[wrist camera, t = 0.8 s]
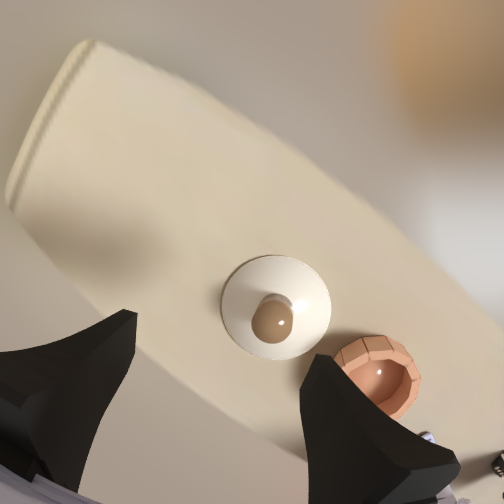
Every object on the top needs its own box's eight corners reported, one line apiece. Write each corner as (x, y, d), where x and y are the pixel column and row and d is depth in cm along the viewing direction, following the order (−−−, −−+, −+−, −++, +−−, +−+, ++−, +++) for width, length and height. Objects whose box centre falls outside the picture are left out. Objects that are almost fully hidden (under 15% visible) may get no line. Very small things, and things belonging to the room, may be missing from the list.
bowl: (420, 383, 24) (430, 399, 21) (348, 422, 26) (351, 441, 23) (390, 319, 24) (400, 332, 21) (310, 364, 26) (311, 381, 23)
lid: (349, 325, 25) (356, 344, 21) (259, 372, 27) (252, 395, 23) (294, 233, 25) (293, 237, 21) (203, 289, 27) (187, 302, 23)
